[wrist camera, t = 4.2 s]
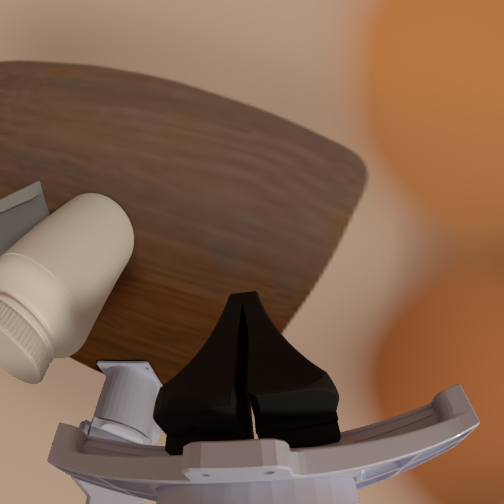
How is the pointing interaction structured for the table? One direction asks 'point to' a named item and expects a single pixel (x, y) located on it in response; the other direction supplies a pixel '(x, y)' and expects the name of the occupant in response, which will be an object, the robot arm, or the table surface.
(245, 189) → the table surface
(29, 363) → the pill bottle
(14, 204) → the grey tray
